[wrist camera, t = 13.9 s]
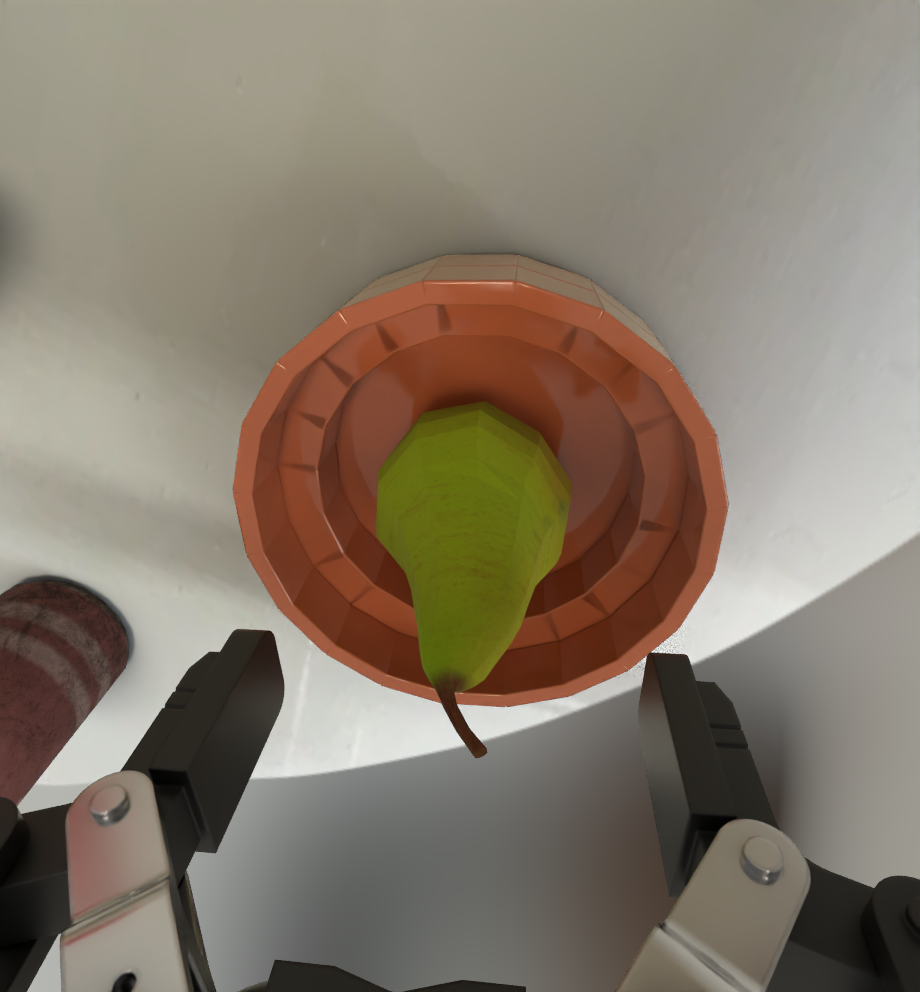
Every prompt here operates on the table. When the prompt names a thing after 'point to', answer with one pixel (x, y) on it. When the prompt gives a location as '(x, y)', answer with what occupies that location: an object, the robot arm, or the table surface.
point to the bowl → (525, 396)
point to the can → (51, 673)
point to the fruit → (471, 537)
